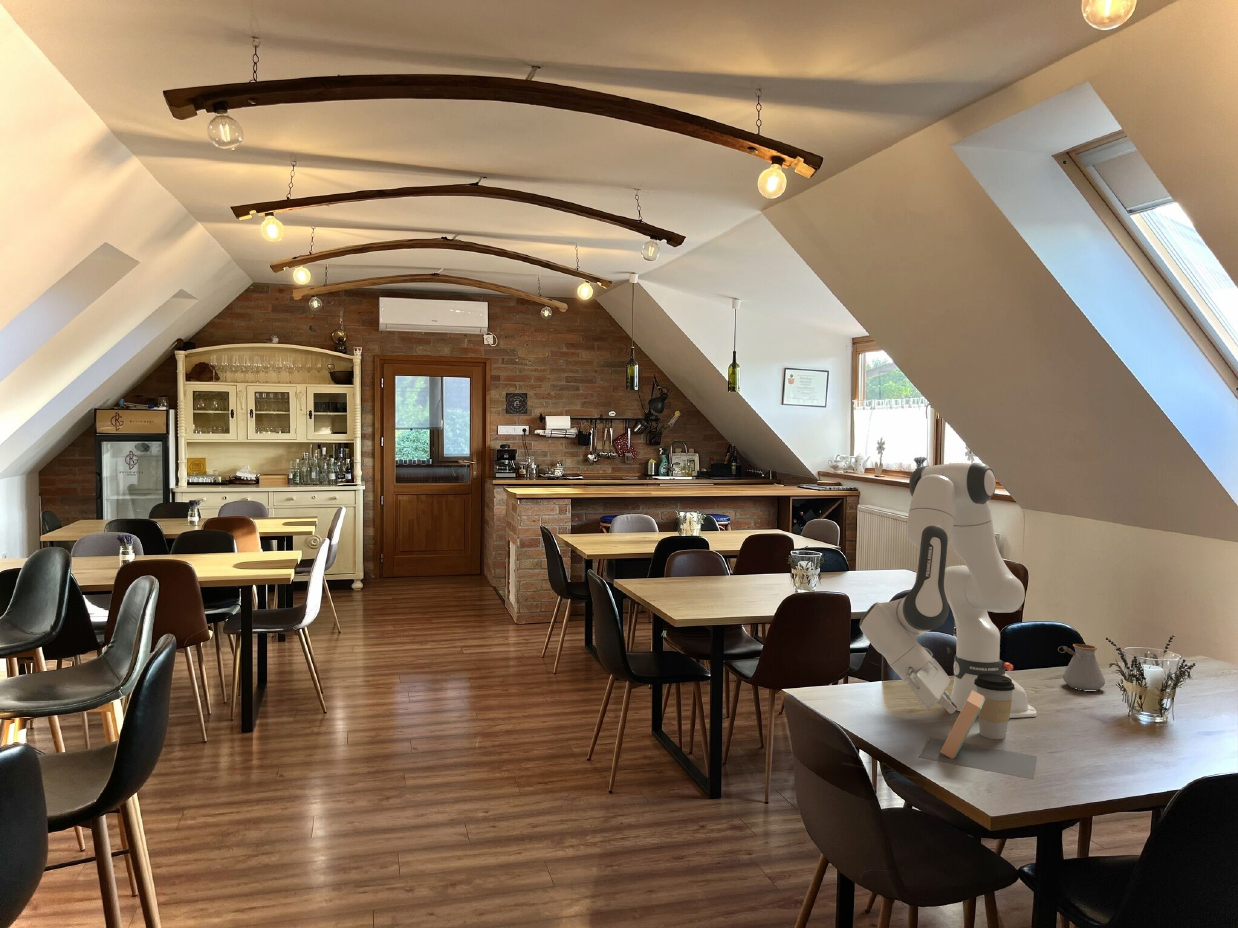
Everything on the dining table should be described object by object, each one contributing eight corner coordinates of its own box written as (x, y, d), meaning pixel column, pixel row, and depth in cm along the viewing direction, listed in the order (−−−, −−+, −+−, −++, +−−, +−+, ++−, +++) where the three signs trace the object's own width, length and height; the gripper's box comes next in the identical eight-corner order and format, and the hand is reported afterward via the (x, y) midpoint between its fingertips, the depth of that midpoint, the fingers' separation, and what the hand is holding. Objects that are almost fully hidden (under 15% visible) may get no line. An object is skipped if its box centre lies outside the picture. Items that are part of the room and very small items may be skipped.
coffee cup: (1010, 746, 209) (1012, 685, 209) (968, 738, 214) (971, 678, 214) (1015, 735, 217) (1017, 676, 217) (975, 727, 222) (977, 670, 222)
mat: (918, 759, 199) (918, 757, 199) (929, 738, 213) (929, 736, 213) (1033, 781, 187) (1033, 778, 187) (1037, 758, 202) (1037, 755, 202)
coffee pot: (1072, 680, 270) (1074, 633, 270) (1111, 689, 261) (1113, 640, 261) (1039, 691, 257) (1041, 642, 256) (1079, 701, 248) (1081, 650, 247)
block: (940, 751, 200) (967, 700, 197) (946, 739, 208) (972, 689, 205) (954, 759, 198) (981, 708, 195) (959, 746, 207) (985, 697, 204)
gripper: (914, 665, 197) (959, 714, 192) (929, 647, 215) (970, 692, 210) (894, 681, 199) (937, 730, 195) (910, 662, 217) (950, 707, 213)
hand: (954, 710), depth 203 cm, fingers closed
